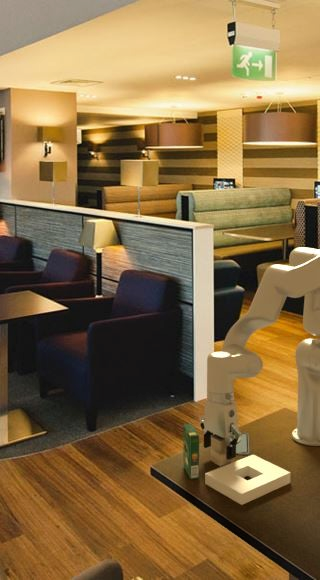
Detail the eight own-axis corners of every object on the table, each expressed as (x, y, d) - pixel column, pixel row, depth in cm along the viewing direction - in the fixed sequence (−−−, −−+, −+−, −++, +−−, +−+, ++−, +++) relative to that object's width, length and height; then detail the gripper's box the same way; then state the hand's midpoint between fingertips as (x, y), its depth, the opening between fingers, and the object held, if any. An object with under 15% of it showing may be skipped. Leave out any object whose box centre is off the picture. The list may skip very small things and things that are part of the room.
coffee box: (200, 479, 171) (199, 434, 168) (190, 480, 170) (189, 435, 168) (193, 466, 178) (192, 422, 176) (183, 467, 178) (182, 423, 175)
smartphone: (248, 433, 199) (249, 453, 185) (248, 435, 199) (249, 456, 185) (225, 432, 200) (224, 452, 186) (225, 434, 200) (224, 455, 186)
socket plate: (253, 464, 179) (253, 454, 178) (290, 482, 168) (290, 472, 167) (205, 483, 168) (205, 473, 168) (241, 504, 157) (241, 494, 157)
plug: (221, 457, 184) (221, 431, 182) (230, 462, 180) (230, 436, 179) (211, 461, 181) (210, 435, 180) (220, 466, 178) (220, 440, 177)
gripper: (251, 401, 172) (250, 459, 175) (210, 385, 186) (209, 439, 189) (231, 407, 168) (230, 466, 171) (190, 390, 182) (190, 445, 185)
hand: (219, 452), depth 180 cm, fingers open, 9 cm apart
